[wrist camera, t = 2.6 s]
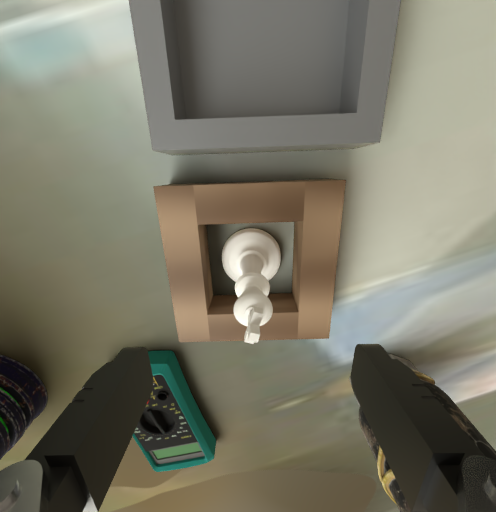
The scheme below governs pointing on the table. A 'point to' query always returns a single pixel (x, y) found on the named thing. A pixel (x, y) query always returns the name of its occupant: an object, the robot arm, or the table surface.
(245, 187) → the socket stand
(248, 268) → the chess piece
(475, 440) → the lantern
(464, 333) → the table surface
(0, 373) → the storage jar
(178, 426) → the digital multimeter
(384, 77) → the parts tray
